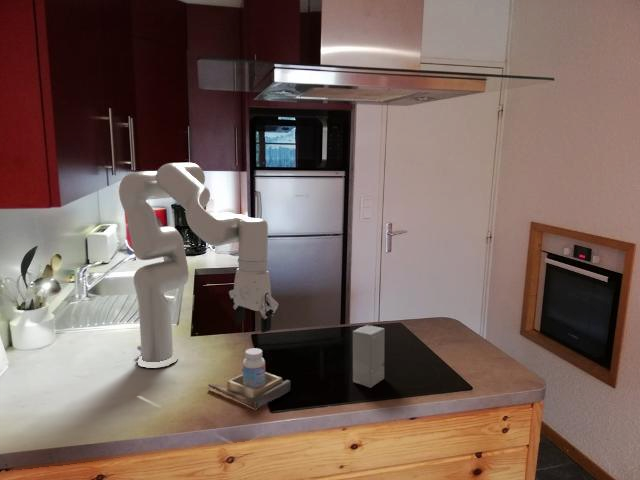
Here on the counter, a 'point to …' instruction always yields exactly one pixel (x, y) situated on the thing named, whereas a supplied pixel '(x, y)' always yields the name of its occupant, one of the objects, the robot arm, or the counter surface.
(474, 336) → the counter surface
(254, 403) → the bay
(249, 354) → the pill bottle
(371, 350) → the skincare box
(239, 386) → the crate
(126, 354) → the counter surface
